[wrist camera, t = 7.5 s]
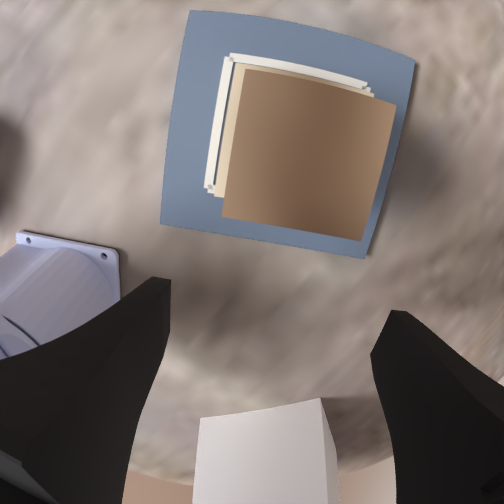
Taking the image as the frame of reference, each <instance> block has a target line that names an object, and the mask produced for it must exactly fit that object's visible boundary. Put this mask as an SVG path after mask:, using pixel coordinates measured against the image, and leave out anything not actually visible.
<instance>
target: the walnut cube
mask: <svg viewBox="0 0 504 504" xmlns="http://www.w3.org/2000/svg"><path fill="white" fill-rule="evenodd" d="M396 106H397V105H395V104H392V103H389V102H386V101H383V100H380V99H377V98H373V97H370V96H367V95H364V94H360V93H357V92H353V91H350V90H346V89H343V88H339V87H335V86H331V85H327V84H323V83H319V82H315V81H311V80H306V79H301V78H297V77H292V76H287V75H282V74H276V73H271V72H265V71H259V70H252V69H246V68H245V73H244V79H243V84H242V90H241V96H240V101H239V107H238V113H237V119H236V125H235V131H234V137H233V143H232V149H231V156H230V162H229V168H228V175H227V182H226V188H225V195H224V202H223V209H222V216H221V217H225V218H231V219H237V220H243V221H249V222H255V223H261V224H267V225H273V226H278V227H284V228H290V229H296V230H301V231H307V232H312V233H318V234H323V235H329V236H334V237H339V238H345V239H350V240H355V241H360V242H361V240H362V237H363V234H364V230H365V227H366V224H367V220H368V217H369V214H370V210H371V207H372V204H373V200H374V196H375V193H376V189H377V186H378V182H379V178H380V174H381V171H382V167H383V163H384V159H385V155H386V151H387V147H388V142H389V138H390V134H391V129H392V125H393V120H394V115H395V111H396Z"/></svg>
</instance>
